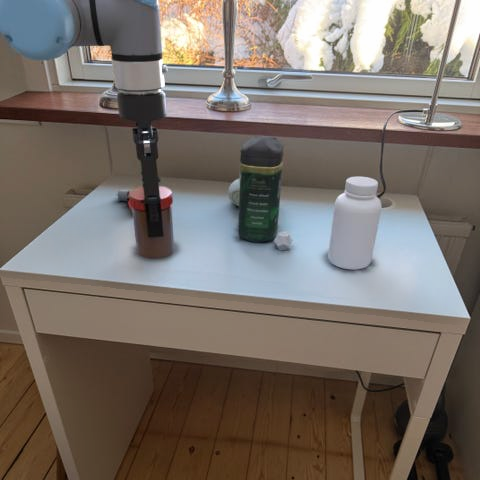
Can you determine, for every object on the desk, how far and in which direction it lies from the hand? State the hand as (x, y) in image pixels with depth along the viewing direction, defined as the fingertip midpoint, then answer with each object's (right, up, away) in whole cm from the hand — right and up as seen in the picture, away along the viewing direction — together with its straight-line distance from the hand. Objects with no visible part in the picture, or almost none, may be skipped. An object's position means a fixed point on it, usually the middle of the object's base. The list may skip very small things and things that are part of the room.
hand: (154, 226), depth 86 cm
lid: (0, +5, -4) cm, 6 cm away
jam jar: (0, -4, +3) cm, 5 cm away
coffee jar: (+19, 0, +10) cm, 22 cm away
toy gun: (-8, +8, +20) cm, 23 cm away
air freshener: (+18, +9, +22) cm, 30 cm away
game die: (+24, -3, +5) cm, 25 cm away
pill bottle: (+36, -6, +1) cm, 37 cm away
